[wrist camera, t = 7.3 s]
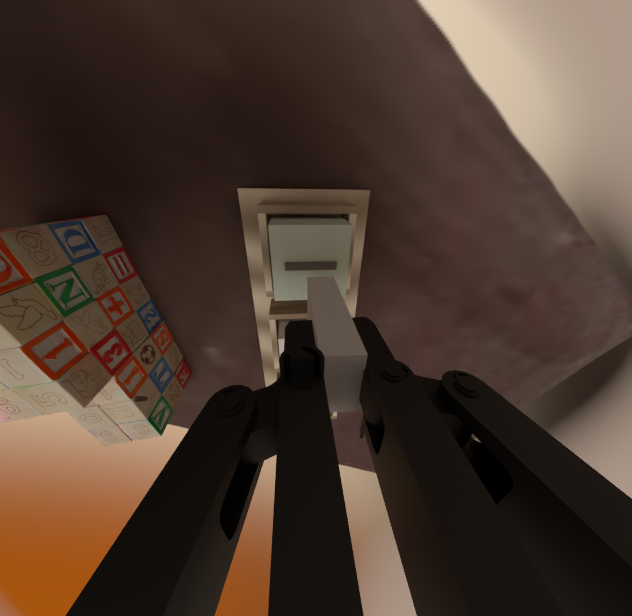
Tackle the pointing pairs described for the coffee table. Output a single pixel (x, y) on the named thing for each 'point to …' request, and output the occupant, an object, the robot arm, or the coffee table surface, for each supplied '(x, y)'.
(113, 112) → the coffee table surface
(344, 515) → the robot arm
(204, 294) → the coffee table surface
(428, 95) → the coffee table surface
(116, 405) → the stack of blocks
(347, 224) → the light grey block
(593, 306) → the coffee table surface
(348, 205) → the button board
